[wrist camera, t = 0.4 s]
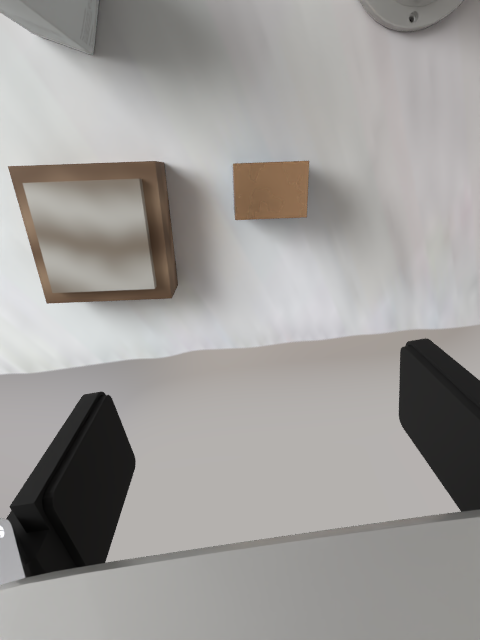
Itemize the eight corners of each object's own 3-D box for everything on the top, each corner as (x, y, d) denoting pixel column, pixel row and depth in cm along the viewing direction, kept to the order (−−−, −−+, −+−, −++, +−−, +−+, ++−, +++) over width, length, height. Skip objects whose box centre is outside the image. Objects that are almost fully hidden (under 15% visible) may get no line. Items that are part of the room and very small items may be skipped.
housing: (232, 165, 37) (233, 163, 31) (295, 162, 37) (309, 160, 31) (234, 212, 39) (235, 219, 33) (294, 209, 39) (306, 217, 33)
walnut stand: (35, 167, 37) (1, 166, 31) (164, 162, 37) (152, 160, 31) (66, 289, 42) (42, 306, 37) (177, 284, 42) (170, 301, 37)
